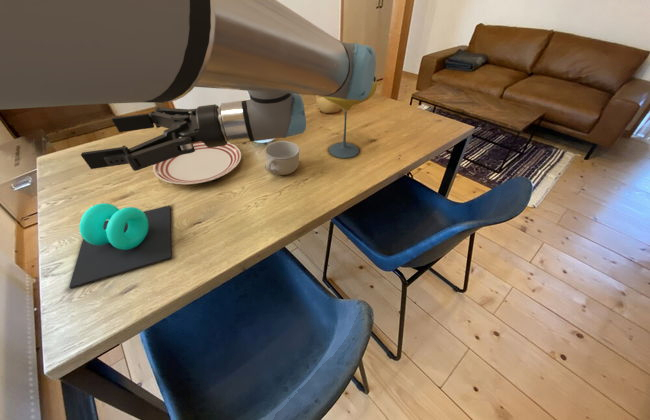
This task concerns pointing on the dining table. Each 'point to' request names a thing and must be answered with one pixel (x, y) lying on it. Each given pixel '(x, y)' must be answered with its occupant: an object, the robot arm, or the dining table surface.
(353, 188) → the dining table surface
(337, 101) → the cocktail glass
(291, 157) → the teacup
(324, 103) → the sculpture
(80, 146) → the dining table surface
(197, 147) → the dinner plate
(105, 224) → the placemat
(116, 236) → the donuts
